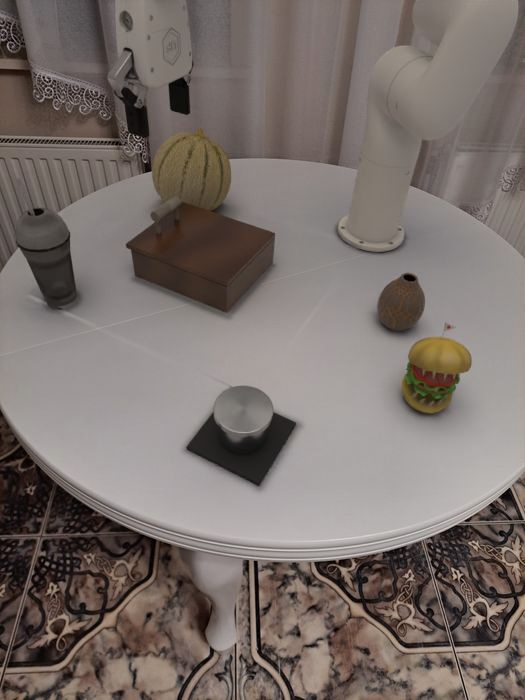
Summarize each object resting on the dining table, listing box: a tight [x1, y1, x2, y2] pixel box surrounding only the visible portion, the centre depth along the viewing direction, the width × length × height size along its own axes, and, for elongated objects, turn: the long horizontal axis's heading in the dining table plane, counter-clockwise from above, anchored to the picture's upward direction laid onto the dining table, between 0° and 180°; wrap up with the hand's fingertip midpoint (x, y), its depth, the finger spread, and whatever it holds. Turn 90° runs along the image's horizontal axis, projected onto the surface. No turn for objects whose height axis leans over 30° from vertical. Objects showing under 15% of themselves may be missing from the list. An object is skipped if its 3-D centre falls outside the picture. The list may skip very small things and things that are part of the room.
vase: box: [376, 272, 426, 331], centre depth 77 cm, size 7×7×9 cm
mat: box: [186, 411, 297, 487], centre depth 63 cm, size 10×10×1 cm
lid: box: [125, 196, 276, 286], centre depth 81 cm, size 18×16×5 cm
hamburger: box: [401, 321, 473, 414], centre depth 65 cm, size 8×7×12 cm
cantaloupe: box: [151, 127, 232, 212], centre depth 95 cm, size 15×15×15 cm
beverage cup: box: [14, 177, 77, 311], centre depth 72 cm, size 7×7×20 cm
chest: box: [130, 237, 276, 314], centre depth 84 cm, size 18×16×6 cm
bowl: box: [212, 385, 274, 455], centre depth 61 cm, size 7×7×5 cm
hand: (160, 123), depth 72 cm, fingers open, 9 cm apart
